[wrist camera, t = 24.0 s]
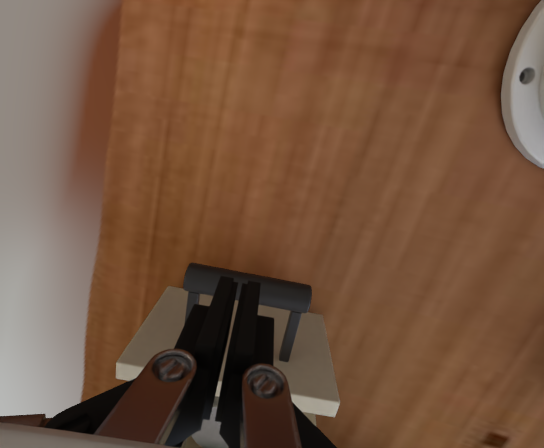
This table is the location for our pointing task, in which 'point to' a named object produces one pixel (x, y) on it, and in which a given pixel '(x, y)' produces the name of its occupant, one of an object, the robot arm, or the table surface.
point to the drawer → (272, 303)
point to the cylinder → (210, 431)
